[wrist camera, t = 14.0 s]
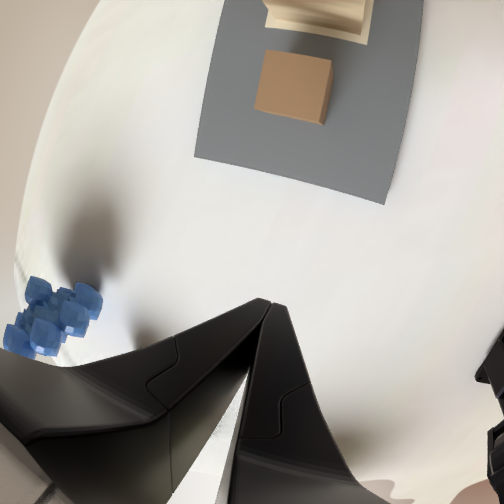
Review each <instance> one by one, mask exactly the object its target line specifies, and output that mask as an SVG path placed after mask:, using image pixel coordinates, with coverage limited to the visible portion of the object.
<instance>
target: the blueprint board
mask: <svg viewBox="0 0 504 504" xmlns="http://www.w3.org/2000/svg"><path fill="white" fill-rule="evenodd" d="M422 12H423V0H366V4H365V11H364V17H363V24H362V30H361V35H357V34H353V33H349V32H344V31H340V30H335V29H330V28H325V27H320V26H314V25H308V24H301V23H294V22H287V21H278V20H275V19H274V17H273V16H272V14H271V13H270V11H269V10H268V8H267V7H266V6H265V4H264V3H263V1H262V0H225V1H224V5H223V9H222V13H221V18H220V22H219V26H218V30H217V35H216V39H215V44H214V48H213V53H212V58H211V63H210V68H209V73H208V78H207V83H206V88H205V93H204V99H203V104H202V110H201V116H200V122H199V128H198V134H197V140H196V147H195V153H194V157H196V158H202V159H207V160H212V161H217V162H222V163H226V164H231V165H236V166H240V167H245V168H249V169H254V170H258V171H262V172H267V173H271V174H275V175H279V176H283V177H287V178H291V179H295V180H299V181H303V182H307V183H310V184H314V185H318V186H322V187H325V188H329V189H332V190H336V191H339V192H343V193H346V194H350V195H353V196H357V197H360V198H363V199H366V200H370V201H373V202H376V203H379V204H383V205H384V204H385V201H386V197H387V194H388V190H389V187H390V183H391V180H392V176H393V172H394V168H395V165H396V161H397V157H398V153H399V149H400V144H401V140H402V136H403V132H404V127H405V122H406V118H407V113H408V108H409V103H410V98H411V92H412V87H413V81H414V75H415V69H416V62H417V56H418V48H419V41H420V32H421V23H422Z"/></svg>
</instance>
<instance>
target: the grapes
mask: <svg viewBox="0 0 504 504" xmlns="http://www.w3.org/2000/svg"><path fill="white" fill-rule="evenodd" d="M25 300H26V302H27V303H28V304H29V306H28V308H27V310H26V309H24V312H23V313H21V312H18V315H17V318H16V321H15V325H11V324H7V327H6V329H5V333H4V338H3V346H4V348H5V350H8V351H10V352H13V353H16V354H19V355H22V356H24V357H27V358H30V359H33V360H35V356H36V353H38V354H41V355H44V356H56V357H57V354H58V352H59V349H60V346H61V343H65V341H66V338H67V335H70V336H75V337H83V338H84V336H85V333H86V331H87V328H88V326H89V320H90V319H92V320H97V319H98V316H99V314H100V312H101V309H102V303H103V299H102V296H101V294H100V293H99V292H97V291H96V290H95V289H94V288H93V287H91V286H90V285H88V284H84V283H80V282H76V284H75V287H74V289H73V290H71V289H67V288H63V287H60V289H57V292H53V291H52V287H51V284H50V283H49V282H47V281H46V280H44V279H41V278H38V277H34V276H31V277H30V279H29V281H28V284H27V287H26V291H25Z"/></svg>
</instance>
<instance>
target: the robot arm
mask: <svg viewBox="0 0 504 504" xmlns="http://www.w3.org/2000/svg"><path fill="white" fill-rule="evenodd" d="M248 371H249V372H248ZM247 373H248V376H247V380H246V384H245V388H244V392H243V396H242V400H241V404H240V408H239V412H238V416H237V420H236V424H235V428H234V432H233V436H232V440H231V444H230V448H229V452H228V456H227V460H226V464H225V467H224V471H223V475H222V479H221V483H220V486H219V490H218V494H217V498H216V501H215V504H390V503H389V502H387V501H385V500H384V499H382V498H380V497H378V496H377V495H375V494H373V493H372V492H370V491H369V490H367V489H366V488H364V487H363V486H362V485H361V484H360V483H359V482H358V481H357V480H356V479H355V477H354V476H353V475H352V473H351V471H350V470H349V468H348V466H347V464H346V462H345V460H344V458H343V456H342V454H341V452H340V450H339V448H338V446H337V444H336V442H335V440H334V438H333V436H332V434H331V432H330V430H329V428H328V425H327V423H326V421H325V419H324V417H323V414H322V412H321V410H320V407H319V404H318V402H317V399H316V396H315V393H314V390H313V386H312V384H311V381H310V377H309V374H308V371H307V368H306V365H305V362H304V359H303V355H302V352H301V349H300V346H299V343H298V340H297V337H296V334H295V331H294V327H293V324H292V321H291V318H290V315H289V312H288V309H287V307H286V306H285V305H281V304H278V303H271V302H270V301H268V300H265V299H262V298H256V299H254V300H252V301H250V302H247V303H245V304H243V305H241V306H239V307H237V308H234V309H232V310H230V311H228V312H226V313H223V314H221V315H219V316H217V317H215V318H212V319H210V320H208V321H206V322H203V323H201V324H199V325H197V326H194V327H192V328H190V329H188V330H185V331H183V332H181V333H178V334H176V335H174V337H173V336H171V337H169V338H166V339H164V340H162V341H159V342H157V343H154V344H152V345H149V346H146V347H144V348H140V349H137V350H134V351H131V352H128V353H125V354H121V355H117V356H114V357H110V358H107V359H103V360H99V361H96V362H92V363H88V364H84V365H80V366H74V367H59V366H53V365H49V364H46V363H43V362H40V361H36V360H33V359H30V358H27V357H24V356H22V355H19V354H16V353H13V352H10V351H8V350H5V349H2V348H0V504H166V503H167V502H168V500H169V499H170V497H171V496H172V493H174V491H175V490H176V488H177V487H178V485H179V484H180V482H181V481H182V479H183V478H184V476H185V475H186V473H187V472H188V470H189V469H190V467H191V466H192V464H193V463H194V461H195V460H196V458H197V456H198V455H199V453H200V452H201V450H202V449H203V447H204V445H205V444H206V442H207V441H208V439H209V437H210V436H211V434H212V433H213V431H214V429H215V428H216V426H217V424H218V423H219V421H220V420H221V418H222V416H223V415H224V413H225V411H226V410H227V408H228V406H229V405H230V403H231V401H232V400H233V398H234V396H235V395H236V393H237V391H238V389H239V388H240V386H241V384H242V383H243V381H244V379H245V377H246V375H247ZM475 380H476V381H477V382H481V383H487V384H491V386H492V389H493V392H494V394H495V397H496V398H498V401H499V404H500V407H501V410H502V412H503V415H504V331H503V333H502V334H501V336H500V338H499V339H498V341H497V343H496V344H495V346H494V347H493V349H492V351H491V352H490V354H489V355H488V357H487V358H486V360H485V361H484V363H483V364H482V366H481V367H480V369H479V370H478V371H477V373H476V374H475ZM487 434H488V465H487V477H488V479H489V482H490V484H491V485H492V487H493V489H494V490H495V492H496V493H497V494H498V497H499V502H500V504H504V420H503V421H501V422H500V423H499V424H498V425H497V426H495V427H493V428H491V429H490V430H489V431H488V432H487Z"/></svg>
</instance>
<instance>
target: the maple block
mask: <svg viewBox="0 0 504 504" xmlns="http://www.w3.org/2000/svg"><path fill="white" fill-rule="evenodd" d="M262 1H263V3H264V4H265V6H266V7H267V8H268V10H269V11H270V13H271V14H272V16H273V17H274V19H275V20H278V21H287V22H294V23H301V24H308V25H314V26H320V27H325V28H330V29H335V30H340V31H344V32H349V33H353V34H357V35H361V30H362V24H363V17H364V11H365V4H366V0H262Z"/></svg>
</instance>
